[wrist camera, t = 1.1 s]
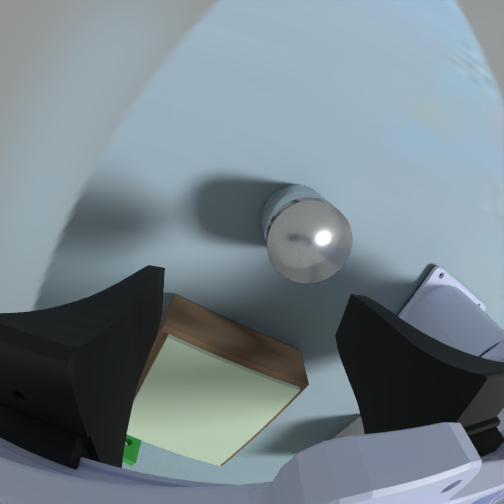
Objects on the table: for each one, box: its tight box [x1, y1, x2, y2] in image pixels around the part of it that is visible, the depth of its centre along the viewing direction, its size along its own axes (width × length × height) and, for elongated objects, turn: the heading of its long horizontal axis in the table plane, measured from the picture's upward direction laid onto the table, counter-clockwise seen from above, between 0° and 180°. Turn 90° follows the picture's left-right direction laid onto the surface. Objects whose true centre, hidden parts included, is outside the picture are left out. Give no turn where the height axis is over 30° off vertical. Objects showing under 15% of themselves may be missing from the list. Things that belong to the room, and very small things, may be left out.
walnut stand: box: [127, 294, 309, 466], centre depth 24 cm, size 11×14×4 cm
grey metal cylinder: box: [261, 185, 352, 284], centre depth 18 cm, size 4×4×5 cm
